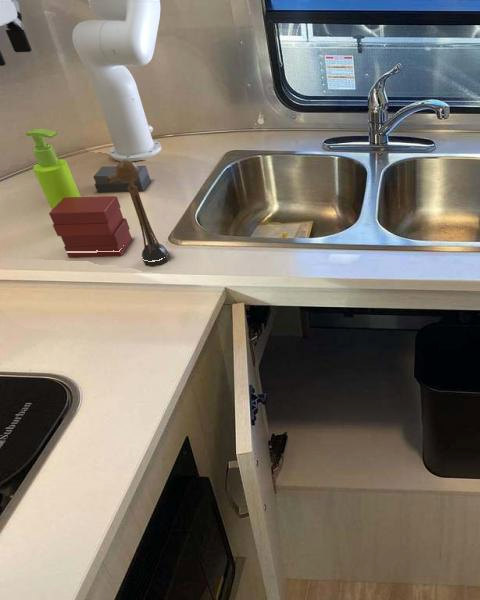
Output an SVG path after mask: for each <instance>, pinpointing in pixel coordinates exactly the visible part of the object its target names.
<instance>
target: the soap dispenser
mask: <svg viewBox="0 0 480 600" xmlns="http://www.w3.org/2000/svg"><path fill="white" fill-rule="evenodd" d="M25 135H26V136H27V137H32V139H33V142H34V145H35V146H34V147H33V148H32V152H33V154H34V156H35V158H36V161H37V163H36V164H35V165H34V166H33V167H32V168H33V169H32V170H33V172H34V174H35V176H36V178H37V180H38V183H39V186H40V188H41V189H42V191H43V194H44V196H45V198H46V200H47V202H48V205H49V207H50V208H51V211H52V210H53V209H54V207H55V206H56V205H57V204H58V203H59V202H60V201H61V200H62V199H63V198H64V197H82V196H81V194H80V192H79V189H78V187H77V184H76V182H75V180H74V177H73V174H72V172H71V170H70V167H69V164H68V162H67V160H66V159H62V158H58V156H57V153H56V152H55V149H54V147H53V145H51V144H48V143H46V140H45V138H48V139H51V138H53V137H55V136H57V135H58V132H57V131H54V130H51V129H47V128H46V129H45V128H34V129H31V130H28V131H26V132H25Z"/></svg>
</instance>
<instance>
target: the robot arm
mask: <svg viewBox="0 0 480 600" xmlns="http://www.w3.org/2000/svg"><path fill="white" fill-rule="evenodd" d="M87 3H88V7H89V10H90V11H91V13H92V14H93V15H94V16H95V17H96V18H98V19H88V20H83V21H81V22H79V23H77V24H76V25H75V26H74V28H73V30H72V36H71V39H72V44H73V47H74V50H75V52H76V54H77V55H78V57H79V59H80V61H81V62H82V64H83V66H84V68H85V70H86V72H87V74H88V76H89V80H90V82H91V84H92V88H93V90H94V93H95V97H96V99H97V102H98V105H99V108H100V111H101V113H102V116H103V119H104V122H105V125H106V128H107V130H108V133H109V137H110V139H111V142H112V145H113V146H112V147H111V149H110V150H109V153H108V154H109V156H110V158H111V159H112V160H114V161H118V162H121V161H123V160H129V161H132V162H138V161H143V160H147V159H150V158H152V157H154V156H156V155H158V154H159V153H160V152H161V150H162V145H161V143H160V142H159V141H157V140H155V139H153V136H152V132H153V131H154V128H153V126H152V125H150V124H149V123H148V119H147V117H146V113H145V110H144V106H143V102H142V99H141V97H140V93H139V90H138V86H137V83H136V81H135V78H134V76H133V75H132V73H131V72H130V70H129V68H127V67H145V66H147V65H148V64H149V63H150V62H151V61H152V60H153V56H154V53H155V48H156V43H157V36H158V31H159V26H160V20H161V0H87ZM22 20H23V16H22V14H21V9H20V4H19V2H18V0H0V27H3V26H4V27H5V28H6V30H5V33H6V35H7V37H8V40H9V43H10V45H11V47H12V50H13V51H14V52H15V53H30V52H32V46H31V44H30V42H29V39H28V37H27V35H26V32H25V25H24V23H23V22H22ZM6 64H7V63H6V61H5V58H4V56H3V54H2V51H1V50H0V67H3V66H5V65H6Z"/></svg>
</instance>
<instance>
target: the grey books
mask: <svg viewBox="0 0 480 600" xmlns="http://www.w3.org/2000/svg"><path fill="white" fill-rule="evenodd" d="M115 168H116V165H111V166H110V165H109V166H101V167H100V168H99V169H98V171H96V173H95V174H94V175H93V180H94V182H95V184H94V187H95V189H96V192H97V193H123V192H124V193H125V192H127V193H130V192H129V190H128V189H127V188H128V187H129V184H128V183H123V182H121V181H119V180H115V181H113V182H108V180H107V178H106V177H107V176H109V175H112V174H115ZM137 168H138V170H139V175H138V177H137V179H136V180H135V181H133V184H134V185H135V186H137V190H138V192H144V191H145V190H146V188H147V186H148V185H149V184H150V183H151V177H150V174H149V171H148V168H147V166H146V165H137Z"/></svg>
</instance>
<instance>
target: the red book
mask: <svg viewBox="0 0 480 600" xmlns="http://www.w3.org/2000/svg"><path fill="white" fill-rule="evenodd" d="M119 209H120V210H121V204H120V202H119V199H118V196H117V195H108V196H107V195H105V196H102V195H101V196H81V197H64V198H63V199H62V200H61V201H60V202H59V203H58V204H57V205H56V206H55V207H54V209H53V210H52V209H51V211H49V213H48V214H49V217H50V219H51V221H52V223H53V224H54V225H58V224H96V223H109V222H110V221H111V219H112V218H113V217H114V215H115V214H116V213H117V211H118V210H119Z"/></svg>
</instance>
